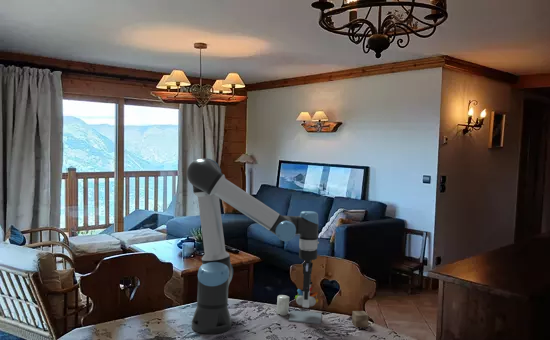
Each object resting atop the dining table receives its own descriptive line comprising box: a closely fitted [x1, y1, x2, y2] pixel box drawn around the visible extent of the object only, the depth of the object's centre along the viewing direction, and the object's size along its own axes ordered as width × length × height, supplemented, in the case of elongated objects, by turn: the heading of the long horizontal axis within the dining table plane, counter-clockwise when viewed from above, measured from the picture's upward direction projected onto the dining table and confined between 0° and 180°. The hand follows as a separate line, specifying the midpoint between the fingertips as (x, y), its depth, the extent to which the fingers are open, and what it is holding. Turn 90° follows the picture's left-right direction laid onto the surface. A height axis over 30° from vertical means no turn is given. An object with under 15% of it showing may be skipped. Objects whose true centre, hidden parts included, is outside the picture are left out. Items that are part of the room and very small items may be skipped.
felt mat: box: [288, 310, 323, 325], centre depth 181 cm, size 13×11×1 cm
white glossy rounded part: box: [276, 294, 290, 316], centre depth 185 cm, size 5×5×7 cm
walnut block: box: [351, 310, 369, 328], centre depth 175 cm, size 5×5×5 cm
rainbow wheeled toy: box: [294, 286, 319, 307], centre depth 181 cm, size 8×10×7 cm
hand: (306, 303), depth 181 cm, fingers closed on rainbow wheeled toy, 8 cm apart
